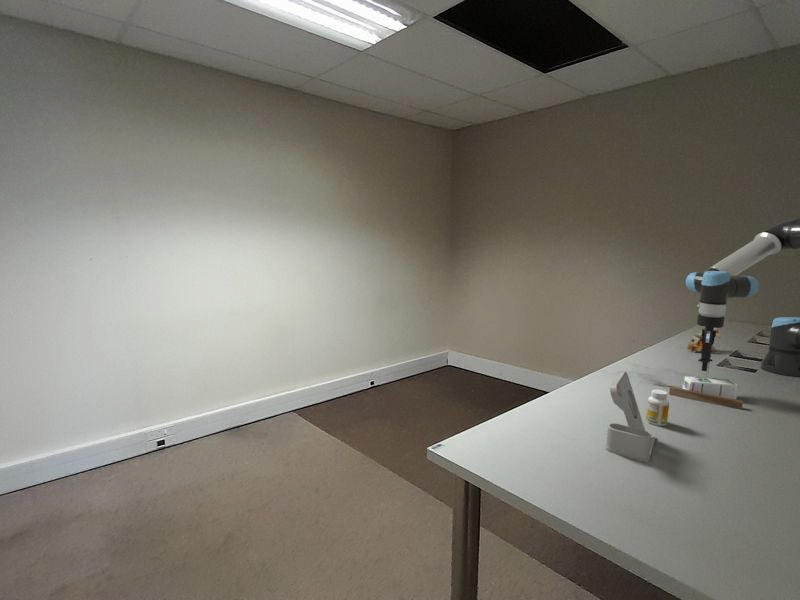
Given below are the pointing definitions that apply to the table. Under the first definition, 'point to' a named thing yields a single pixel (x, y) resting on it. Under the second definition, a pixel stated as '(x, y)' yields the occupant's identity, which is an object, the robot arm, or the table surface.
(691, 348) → the voxel character
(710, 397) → the walnut stop rail
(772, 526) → the table surface
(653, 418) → the supplement bottle
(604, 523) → the table surface
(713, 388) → the syrup box
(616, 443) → the phone holder
